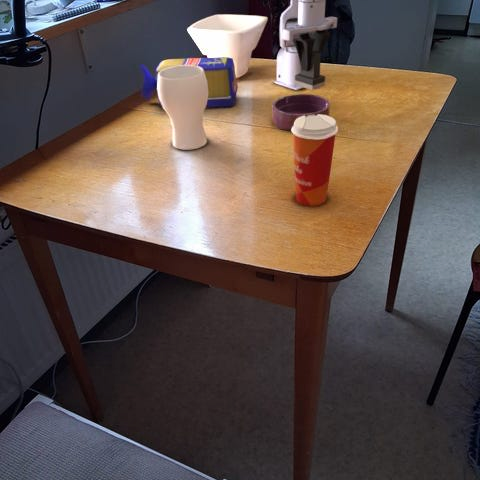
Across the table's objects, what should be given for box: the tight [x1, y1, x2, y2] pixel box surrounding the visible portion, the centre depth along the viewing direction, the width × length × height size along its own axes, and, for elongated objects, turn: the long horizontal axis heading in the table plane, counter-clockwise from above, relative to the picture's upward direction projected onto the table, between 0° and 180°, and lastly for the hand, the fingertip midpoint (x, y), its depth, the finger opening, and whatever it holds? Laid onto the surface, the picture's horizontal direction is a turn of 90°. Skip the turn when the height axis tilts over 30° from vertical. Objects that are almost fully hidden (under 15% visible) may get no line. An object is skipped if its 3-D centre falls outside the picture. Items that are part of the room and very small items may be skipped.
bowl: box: [187, 13, 269, 79], centre depth 138 cm, size 19×19×14 cm
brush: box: [295, 51, 326, 91], centre depth 111 cm, size 6×4×7 cm, turn 38°
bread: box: [139, 57, 239, 110], centre depth 125 cm, size 10×25×10 cm, turn 85°
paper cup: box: [290, 114, 339, 207], centre depth 84 cm, size 8×8×14 cm
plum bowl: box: [271, 93, 331, 132], centre depth 114 cm, size 13×13×4 cm
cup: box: [156, 65, 208, 151], centre depth 104 cm, size 11×11×15 cm
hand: (309, 68), depth 112 cm, fingers closed on brush, 2 cm apart
